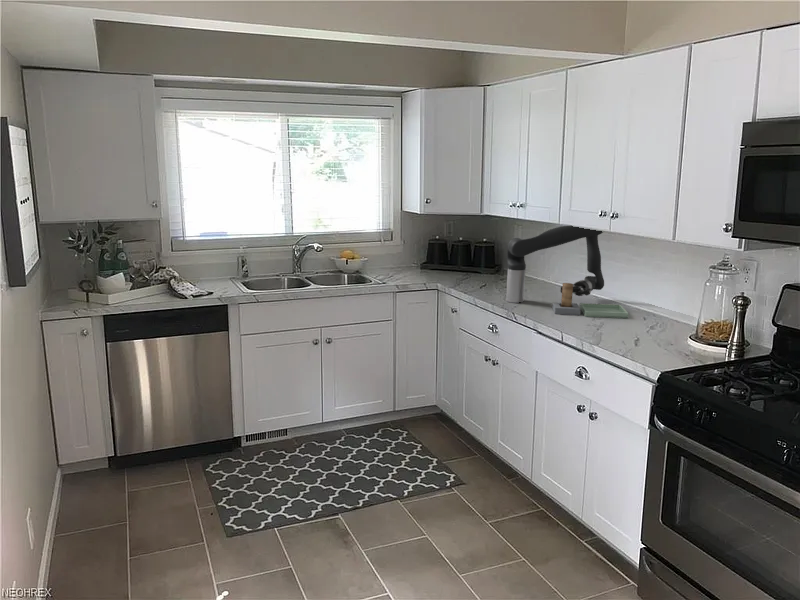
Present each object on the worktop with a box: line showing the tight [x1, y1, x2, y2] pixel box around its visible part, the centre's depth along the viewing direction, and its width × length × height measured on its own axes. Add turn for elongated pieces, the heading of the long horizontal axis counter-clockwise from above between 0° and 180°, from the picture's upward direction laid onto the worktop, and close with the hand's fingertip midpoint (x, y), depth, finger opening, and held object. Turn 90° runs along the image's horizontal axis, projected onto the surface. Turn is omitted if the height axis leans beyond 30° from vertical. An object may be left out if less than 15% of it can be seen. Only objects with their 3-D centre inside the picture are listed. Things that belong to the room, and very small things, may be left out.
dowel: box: [560, 282, 574, 307], centre depth 324 cm, size 5×5×14 cm
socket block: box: [551, 302, 581, 316], centre depth 325 cm, size 12×12×3 cm
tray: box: [579, 302, 629, 319], centre depth 323 cm, size 18×20×2 cm
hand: (570, 292), depth 327 cm, fingers open, 8 cm apart
